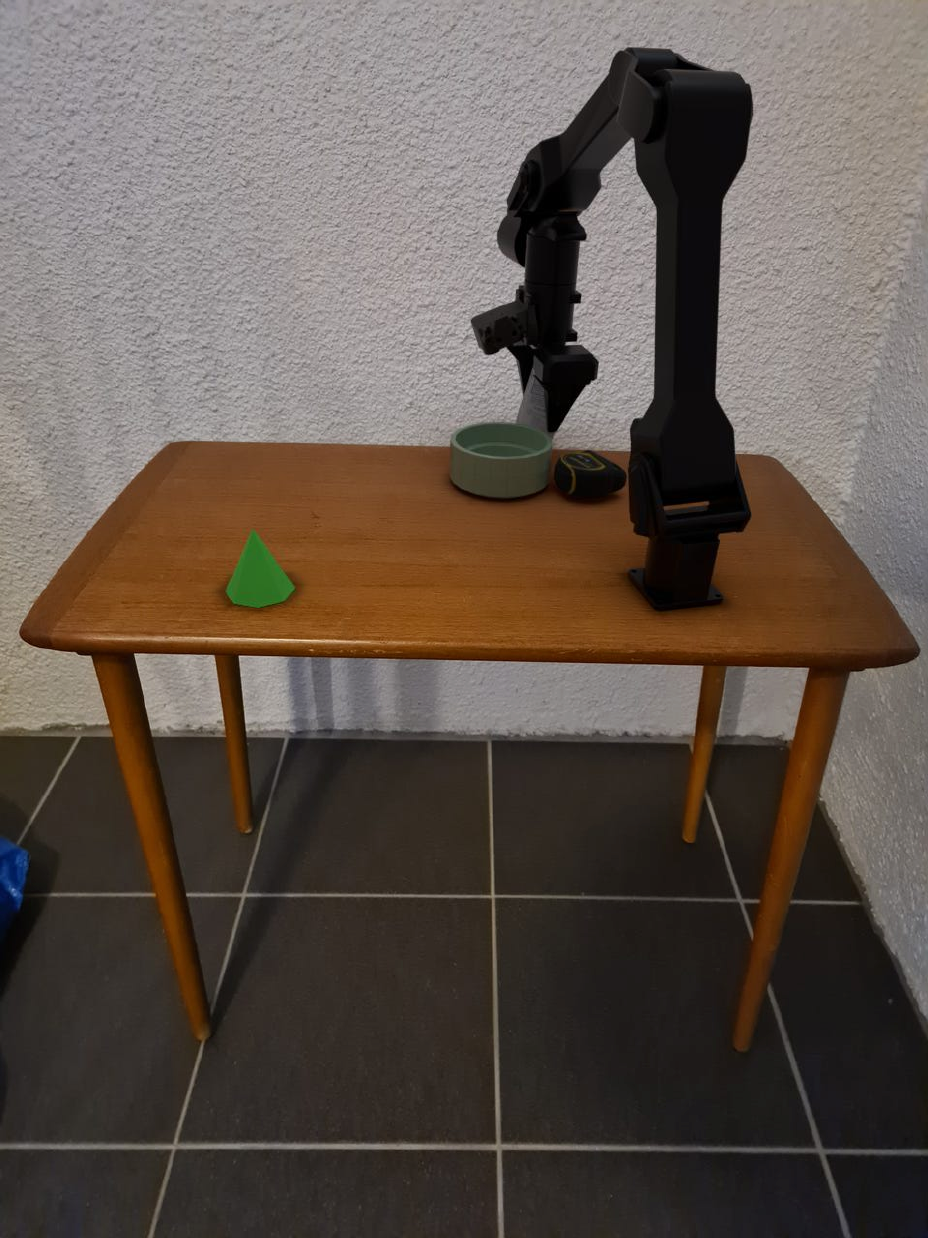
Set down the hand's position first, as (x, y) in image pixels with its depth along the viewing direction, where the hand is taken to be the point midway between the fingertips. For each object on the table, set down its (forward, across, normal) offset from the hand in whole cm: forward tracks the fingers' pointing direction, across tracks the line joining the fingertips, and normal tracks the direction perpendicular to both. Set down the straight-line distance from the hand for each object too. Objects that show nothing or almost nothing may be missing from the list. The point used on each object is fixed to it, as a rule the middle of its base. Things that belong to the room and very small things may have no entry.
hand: (539, 417), depth 99 cm
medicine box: (+2, 0, -1) cm, 2 cm away
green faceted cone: (+4, +27, -34) cm, 44 cm away
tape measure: (+4, +12, +2) cm, 13 cm away
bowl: (+4, +8, -7) cm, 11 cm away
